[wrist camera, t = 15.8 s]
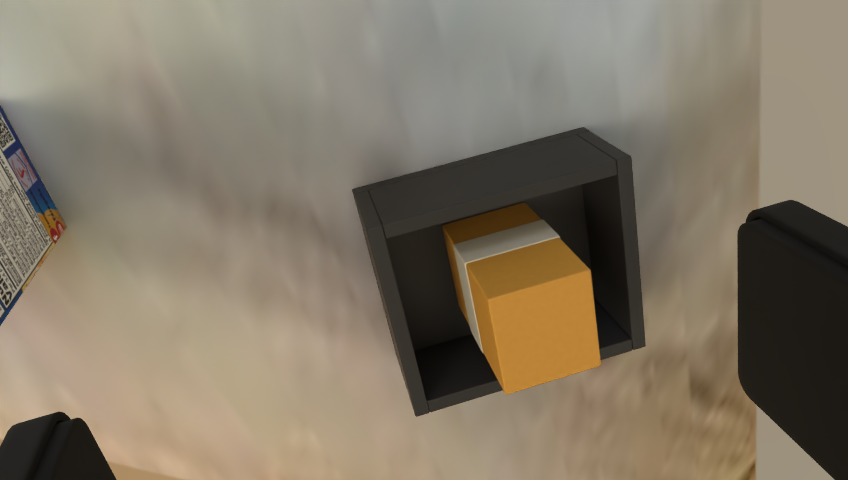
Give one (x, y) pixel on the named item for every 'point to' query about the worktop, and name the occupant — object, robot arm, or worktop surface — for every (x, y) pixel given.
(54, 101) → the worktop surface
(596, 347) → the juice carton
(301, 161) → the worktop surface
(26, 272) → the blue yellow food box
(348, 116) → the worktop surface
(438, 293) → the basket
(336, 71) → the worktop surface
